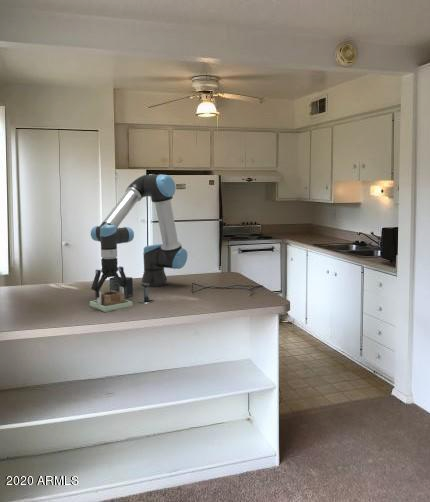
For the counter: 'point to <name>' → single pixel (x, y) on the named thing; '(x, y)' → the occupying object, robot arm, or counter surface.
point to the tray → (111, 307)
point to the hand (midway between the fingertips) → (110, 302)
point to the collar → (112, 298)
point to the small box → (116, 286)
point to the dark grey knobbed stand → (146, 294)
